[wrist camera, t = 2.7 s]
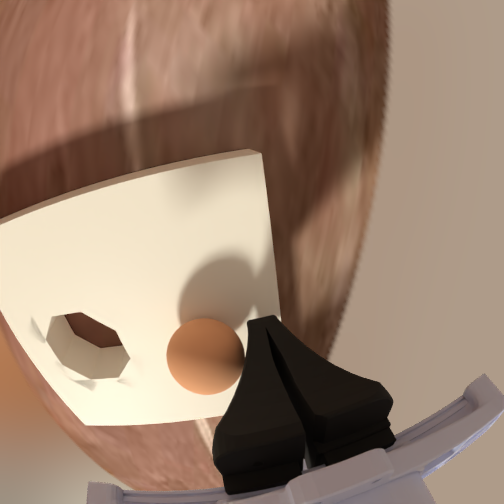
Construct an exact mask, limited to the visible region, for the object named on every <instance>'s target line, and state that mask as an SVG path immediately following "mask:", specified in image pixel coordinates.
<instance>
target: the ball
mask: <svg viewBox="0 0 504 504" xmlns="http://www.w3.org/2000/svg"><path fill="white" fill-rule="evenodd" d="M166 358H167V364H168V368H169V370H170V373H171V374H172V376H173V378H174V379H175V380H176V381H177V382H178V383H179V384H180V385H181V386H182V387H183V388H185V389H187V390H188V391H191V392H193V393H196V394H201V395H213V394H217V393H220V392H223V391H225V390H227V389H228V388H230V387H231V386H232V385H233V384H235V382H236V381H237V380H238V379H239V377H240V376H241V373H242V370H243V366H244V361H245V352H244V347H243V344H242V342H241V340H240V338H239V336H238V335H237V334H236V333H235V331H234V330H233V329H232V328H230V327H229V326H228V325H226V324H224V323H223V322H220V321H218V320H214V319H209V318H200V319H195V320H192V321H189V322H187V323H185V324H183V325H182V326H180V327H179V328H178V329H177V330H176V331H175V332H174V334H173V335H172V337H171V338H170V341H169V343H168V346H167V352H166Z"/></svg>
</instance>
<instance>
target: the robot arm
mask: <svg viewBox="0 0 504 504" xmlns="http://www.w3.org/2000/svg"><path fill="white" fill-rule="evenodd" d="M247 328H248V341H247V350H246V356H245V361H244V366H243V370H242V373H241V377H240V380H239V383H238V386H237V388H236V391H235V394H234V396H233V398H232V400H231V402H230V404H229V406H228V408H227V410H226V412H225V414H224V416H223V417H222V419H221V421H220V422H219V424H218V425H217V427H216V430H215V434H214V439H213V446H212V454H213V461H214V465H215V466H216V468H217V469H218V470H219V472H220V473H221V474H222V476H223V482H224V487H219V488H210V489H199V490H184V491H134V490H122V489H121V488H120V487H119V486H117V485H114V484H111V483H103V482H94V481H89V482H88V491H87V504H436V503H435V501H434V499H433V497H432V495H431V493H430V491H429V490H428V488H427V486H426V484H425V482H424V481H423V478H425V477H426V476H428V475H430V474H431V473H432V472H434V471H435V470H437V469H438V468H440V467H441V466H443V465H444V464H446V463H447V462H448V461H450V460H451V459H452V458H454V457H455V456H456V455H458V454H459V453H460V452H461V451H463V450H464V449H465V448H466V447H468V446H469V445H470V444H472V443H473V442H474V441H475V440H476V439H478V437H480V436H481V435H482V434H484V433H485V432H486V431H487V430H488V429H489V428H490V427H491V426H492V425H493V423H494V422H495V421H496V420H497V419H498V418H499V416H500V415H501V414H502V413H503V412H504V395H503V394H502V393H501V392H500V391H499V389H498V388H497V387H496V386H495V385H494V384H493V382H492V381H491V380H490V379H489V378H488V377H487V376H486V374H482V375H481V376H480V377H479V378H477V379H476V380H475V381H473V382H472V383H471V384H470V385H469V386H468V387H467V388H466V390H465V391H464V393H463V395H462V396H460V397H459V398H458V399H456V400H455V401H453V402H452V403H450V404H449V405H447V406H445V407H444V408H442V409H441V410H439V411H438V412H436V413H434V414H433V415H431V416H429V417H428V418H426V419H424V420H422V421H421V422H419V423H417V424H415V425H414V426H412V427H410V428H408V429H406V430H404V431H402V432H400V433H398V434H396V435H394V434H393V433H392V431H391V429H390V425H391V424H390V422H389V420H388V418H387V417H388V415H389V412H390V410H391V408H392V405H393V399H392V397H391V396H390V394H389V393H388V391H387V390H386V389H385V388H384V387H383V386H382V385H381V384H380V383H379V382H377V381H373V380H370V379H366V378H363V377H360V376H357V375H355V374H352V373H350V372H348V371H346V370H344V369H342V368H339V367H338V366H335V365H334V364H332V363H330V362H329V361H327V360H325V359H324V358H322V357H321V356H319V355H318V354H316V353H315V352H313V351H312V350H311V349H309V348H308V347H307V346H306V345H304V344H303V343H302V342H301V341H300V340H299V339H297V338H296V337H295V336H294V335H293V334H292V333H291V332H290V331H289V330H288V329H287V328H286V327H285V326H284V325H283V324H282V323H281V321H280V320H279V319H278V318H277V316H275V315H270V316H265V317H261V318H256V319H252V320H248V321H247Z"/></svg>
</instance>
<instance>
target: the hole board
mask: <svg viewBox="0 0 504 504" xmlns="http://www.w3.org/2000/svg"><path fill="white" fill-rule="evenodd" d="M0 310H1V312H2V314H3V315H4V317H5V319H6V321H7V323H8V324H9V326H10V328H11V329H12V331H13V333H14V334H15V336H16V338H17V339H18V341H19V342H20V344H21V345H22V347H23V348H24V350H25V351H26V353H27V354H28V356H29V357H30V359H31V360H32V362H33V363H34V364H35V366H36V367H37V369H38V370H39V371H40V373H41V374H42V375H43V377H44V378H45V379H46V380H47V382H48V383H49V384H50V386H51V387H52V388H53V389H54V391H55V392H56V393H57V394H58V395H59V397H60V398H61V399H62V400H63V401H64V402H65V404H66V405H67V406H68V407H69V408H70V409H71V410H72V411H73V412H74V414H75V415H76V416H77V417H78V418H79V419H80V420H81V421H82V422H83V423H84V424H85V425H141V424H157V423H168V422H178V421H187V420H195V419H202V418H209V417H215V416H221V415H224V414H225V412H226V410H227V408H228V406H229V404H230V402H231V400H232V398H233V396H234V394H235V391H236V388H237V386H238V383H239V380H240V377H241V376H240V377H239V379H238V380H237V381H236V382H235V384H233V385H232V386H231V387H230V388H228V389H227V390H225V391H223V392H220V393H217V394H213V395H201V394H196V393H193V392H191V391H188V390H187V389H185V388H183V387H182V386H181V385H180V384H179V383H178V382H177V381H176V380H175V379H174V378H173V376H172V374H171V373H170V370H169V368H168V364H167V358H166V352H167V346H168V343H169V341H170V338H171V337H172V335H173V334H174V332H175V331H176V330H177V329H178V328H179V327H180V326H182V325H183V324H185V323H187V322H189V321H192V320H195V319H200V318H209V319H214V320H218V321H220V322H223V323H224V324H226V325H228V326H229V327H230V328H232V329H233V330H234V331H235V333H236V334H237V335H238V336H239V338H240V340H241V342H242V344H243V347H244V352H245V356H246V350H247V341H248V328H247V321H248V320H252V319H256V318H261V317H265V316H270V315H275V316H277V318H278V319H279V320H280V321H281V314H280V304H279V295H278V286H277V276H276V267H275V258H274V250H273V241H272V232H271V224H270V216H269V208H268V199H267V192H266V184H265V176H264V168H263V161H262V153H259V152H256V151H254V150H251V149H243V150H237V151H231V152H225V153H219V154H214V155H208V156H203V157H198V158H193V159H188V160H183V161H179V162H174V163H170V164H166V165H161V166H157V167H153V168H149V169H145V170H141V171H137V172H133V173H130V174H126V175H122V176H119V177H115V178H112V179H108V180H105V181H102V182H98V183H95V184H92V185H89V186H86V187H83V188H80V189H77V190H74V191H71V192H68V193H65V194H62V195H59V196H56V197H54V198H51V199H48V200H45V201H43V202H40V203H38V204H35V205H32V206H30V207H27V208H25V209H23V210H20V211H18V212H15V213H13V214H11V215H8V216H6V217H4V218H2V219H0ZM77 312H82V313H84V314H86V315H87V316H89V317H91V318H93V319H95V320H96V321H98V322H100V323H102V324H104V325H106V326H108V327H110V328H111V329H113V330H115V331H116V332H117V334H118V336H119V338H120V340H121V342H122V344H123V345H122V346H114V347H106V348H99V347H97V346H95V345H93V344H91V343H90V342H88V341H86V340H84V339H82V338H80V337H78V336H77V335H75V334H74V332H73V330H72V329H71V327H70V325H69V323H68V321H67V320H66V318H65V316H64V314H71V313H77Z"/></svg>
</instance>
